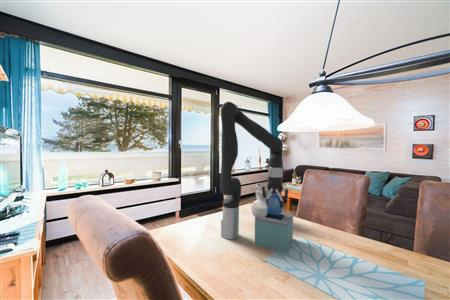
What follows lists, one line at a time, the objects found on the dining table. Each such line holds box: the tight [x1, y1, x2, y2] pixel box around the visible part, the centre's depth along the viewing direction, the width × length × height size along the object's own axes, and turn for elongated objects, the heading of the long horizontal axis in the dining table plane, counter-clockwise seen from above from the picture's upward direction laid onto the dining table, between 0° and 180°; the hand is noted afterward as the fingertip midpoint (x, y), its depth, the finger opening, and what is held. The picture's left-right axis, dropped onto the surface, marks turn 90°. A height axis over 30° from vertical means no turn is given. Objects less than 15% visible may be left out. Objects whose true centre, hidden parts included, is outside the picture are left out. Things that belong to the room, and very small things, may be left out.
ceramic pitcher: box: [250, 182, 272, 219], centre depth 141 cm, size 22×20×25 cm
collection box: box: [254, 209, 294, 254], centre depth 111 cm, size 16×16×14 cm
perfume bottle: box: [267, 191, 283, 215], centre depth 111 cm, size 6×6×12 cm
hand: (274, 206), depth 111 cm, fingers closed on perfume bottle, 6 cm apart
